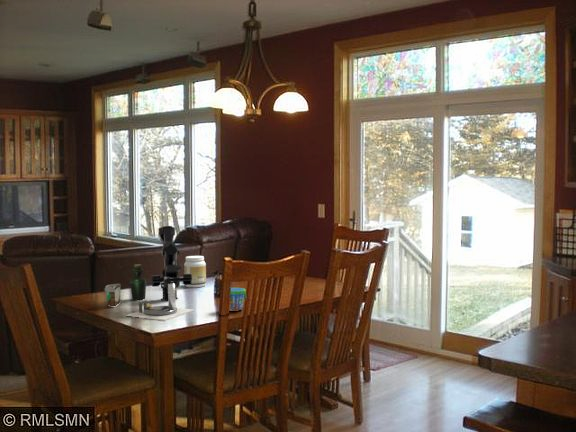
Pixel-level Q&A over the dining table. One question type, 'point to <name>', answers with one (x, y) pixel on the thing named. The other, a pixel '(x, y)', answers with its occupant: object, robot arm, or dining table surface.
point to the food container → (113, 294)
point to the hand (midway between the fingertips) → (172, 294)
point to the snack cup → (237, 298)
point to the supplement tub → (196, 270)
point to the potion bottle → (138, 284)
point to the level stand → (158, 317)
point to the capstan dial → (163, 309)
